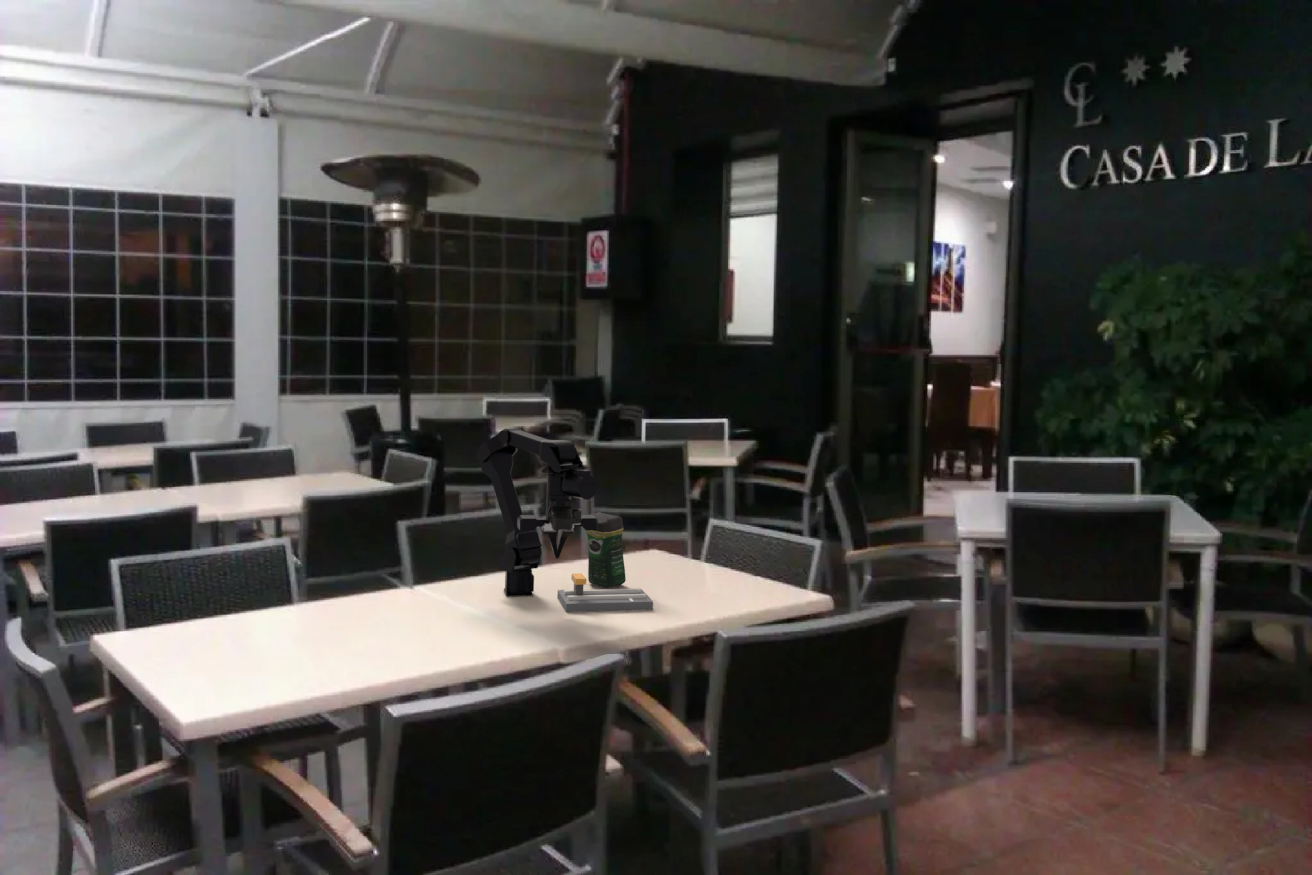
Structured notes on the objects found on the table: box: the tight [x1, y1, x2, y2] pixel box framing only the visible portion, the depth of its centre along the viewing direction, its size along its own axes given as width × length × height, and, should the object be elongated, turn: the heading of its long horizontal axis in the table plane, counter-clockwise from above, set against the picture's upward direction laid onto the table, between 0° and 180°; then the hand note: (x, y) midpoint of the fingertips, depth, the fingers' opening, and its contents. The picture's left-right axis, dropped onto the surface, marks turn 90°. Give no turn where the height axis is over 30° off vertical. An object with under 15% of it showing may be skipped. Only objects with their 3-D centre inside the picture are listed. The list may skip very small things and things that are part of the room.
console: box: [557, 587, 654, 613], centre depth 272 cm, size 21×13×3 cm, turn 104°
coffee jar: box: [585, 511, 627, 589], centre depth 290 cm, size 10×8×19 cm
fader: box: [571, 572, 587, 596], centre depth 270 cm, size 3×6×5 cm, turn 14°
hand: (556, 558), depth 268 cm, fingers closed
